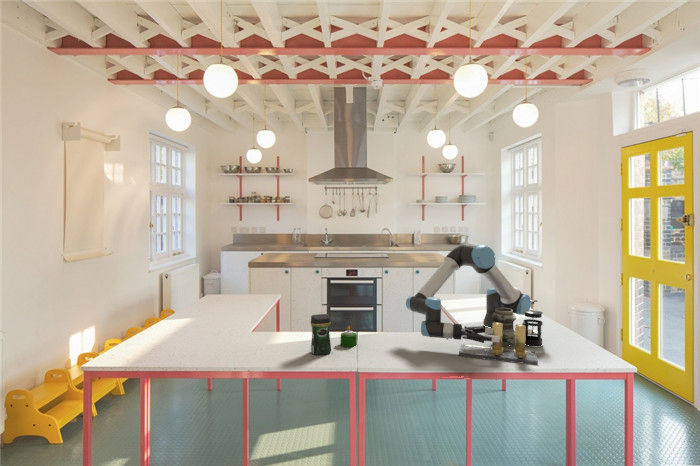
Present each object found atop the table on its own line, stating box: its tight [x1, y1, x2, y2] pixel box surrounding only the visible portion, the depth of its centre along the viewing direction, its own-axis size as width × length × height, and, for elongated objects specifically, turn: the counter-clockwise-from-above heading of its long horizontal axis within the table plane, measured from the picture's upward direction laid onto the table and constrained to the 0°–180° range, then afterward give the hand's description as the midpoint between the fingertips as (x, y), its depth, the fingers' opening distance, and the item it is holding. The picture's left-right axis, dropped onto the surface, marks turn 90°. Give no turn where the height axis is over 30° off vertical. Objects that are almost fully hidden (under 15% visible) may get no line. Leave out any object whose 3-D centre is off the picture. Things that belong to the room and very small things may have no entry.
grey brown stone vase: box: [491, 308, 517, 347], centre depth 214 cm, size 12×12×18 cm
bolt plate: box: [458, 323, 539, 365], centre depth 196 cm, size 34×14×15 cm, turn 70°
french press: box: [521, 299, 544, 347], centre depth 213 cm, size 12×9×23 cm
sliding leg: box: [491, 322, 504, 355], centre depth 195 cm, size 5×8×14 cm, turn 160°
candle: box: [340, 325, 358, 348], centre depth 212 cm, size 8×8×10 cm
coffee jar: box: [310, 313, 332, 356], centre depth 200 cm, size 10×8×19 cm
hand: (499, 335), depth 196 cm, fingers open, 13 cm apart
